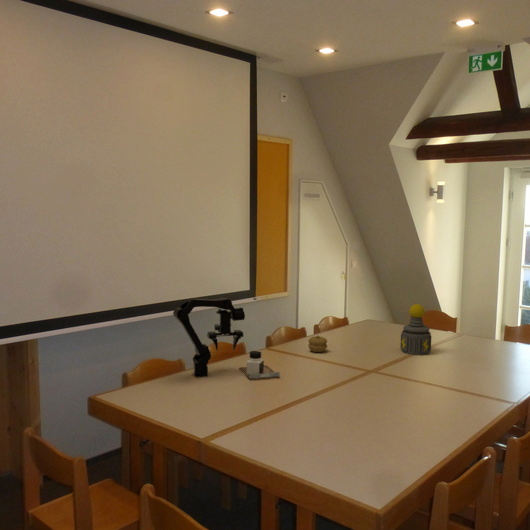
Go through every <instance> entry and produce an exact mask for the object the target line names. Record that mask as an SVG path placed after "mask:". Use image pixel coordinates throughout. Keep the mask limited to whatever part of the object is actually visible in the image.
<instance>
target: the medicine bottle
mask: <svg viewBox="0 0 530 530" xmlns="http://www.w3.org/2000/svg"><path fill="white" fill-rule="evenodd" d="M264 361H265V360H264V359H262V351H260V350H251V351H250V352H249V360H247V361H246V367H247V375H249V374H258V373H263V372H264V366H265V362H264Z"/></svg>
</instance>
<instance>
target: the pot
mask: <svg viewBox="0 0 530 530" xmlns="http://www.w3.org/2000/svg"><path fill="white" fill-rule="evenodd" d="M327 343H328V340H327V338H326V337H324V336H320V335H316V336H311V337H310V338H309V339H308V344H307V345H308V346H307V347H308V349H309V350H310V351H311V352H312V353H313V352H314V353H323V352H325V351H326V350H327V348H328V344H327Z"/></svg>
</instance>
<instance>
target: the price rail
mask: <svg viewBox="0 0 530 530" xmlns="http://www.w3.org/2000/svg"><path fill="white" fill-rule="evenodd" d="M275 376H280V377H281V375H280V371H274V372H270V373H258V374H249V378H250V379H252V378H264V377H275Z"/></svg>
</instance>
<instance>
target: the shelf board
mask: <svg viewBox="0 0 530 530" xmlns="http://www.w3.org/2000/svg"><path fill="white" fill-rule="evenodd" d="M239 369H240V370H241V371H242V372H243V373H244V374H245V375H246V376H245V375H244V374H243V373H242V372H241V371H240V370H239ZM238 370H239V371H240V372H241V373H242V374H243V375H244V376H245V377H246V378H247V379H248V380H249V381H250V380H254V381H261V380H260V379H265V380H272V379H271V378H277V379H281V375H280V376H275V377H264V378H252V379H250V378H249V375H247V366H243V367H242V366H241V367H240V366H239V367H238ZM270 372H275V370H273V369H271V367H269V366H268V365H267V364H266V365H265V364H264V372H263V373H270Z"/></svg>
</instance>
